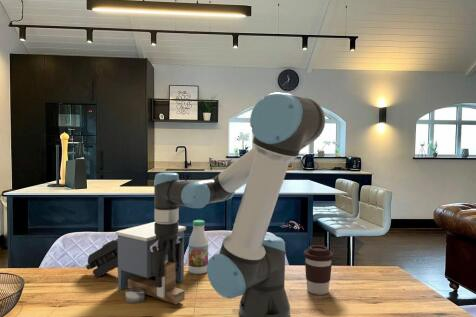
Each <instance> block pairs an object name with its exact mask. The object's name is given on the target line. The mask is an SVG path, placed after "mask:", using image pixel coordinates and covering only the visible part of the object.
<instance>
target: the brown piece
mask: <svg viewBox="0 0 476 317" xmlns="http://www.w3.org/2000/svg"><path fill="white" fill-rule="evenodd" d="M163 276H164V277H165V297H164V298H162V297H159V296H157V287H156V280H153V279H150V278H148V279H147V278H143V277H140V276H134V277H132V278H129V279H128V287H127V289H129V288H133V287H142V288H144V289H145V295H147V296H150V297H153V298H156V299H159V300H162V301H164V302H168V303H171V304H174V305H178V304H179V303H182V302H183V301H185V300H186V299H185V298H186V297H185V294H186V293H185V292H186V290H185V289H182V288H179V287H176V281H175V263H174V262H170V261H165V265H164V272H163Z"/></svg>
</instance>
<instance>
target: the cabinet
mask: <svg viewBox="0 0 476 317" xmlns="http://www.w3.org/2000/svg"><path fill="white" fill-rule="evenodd" d="M155 222H156V221H153V222H150V223H149V222H148V223H144V224H141V225H138V226H137V225H136V226H133V227H128V228H125V229H120V230H117V231H115V236H117V239H118V268H117V290H120V291H122V290H125V289H128V279H129V278H132V277H134V276H140V277H143V278H147V279H150V277H151V278H152V276H151V275H150V252H149V249H148V246H149V245H153V244H154V243H155V240H156V235H155V233H154V223H155ZM186 230H187V226H183V225H179V227H178V233H177V237H181V238H183V242H182V255H181V267H180V268H178V269H179V271H178V272H176V280H175V282H178V283H182V282H184V280H185V275H184V274H185V231H186ZM162 252H163V251H162ZM165 261H168V255H166V258H165Z"/></svg>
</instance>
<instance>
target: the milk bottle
mask: <svg viewBox="0 0 476 317" xmlns="http://www.w3.org/2000/svg"><path fill="white" fill-rule="evenodd" d="M192 227H193V228H192V232H191V235H190V236H189V240H188V263H187V264H188V267H187V268H188V272H189V273H190V274H193V275H202V274H203V275H204V274H205V273H206V274H207V264H208V261H209V239H208V236H207V234H206V231H205V220H203V219H196V220H193V221H192Z"/></svg>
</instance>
